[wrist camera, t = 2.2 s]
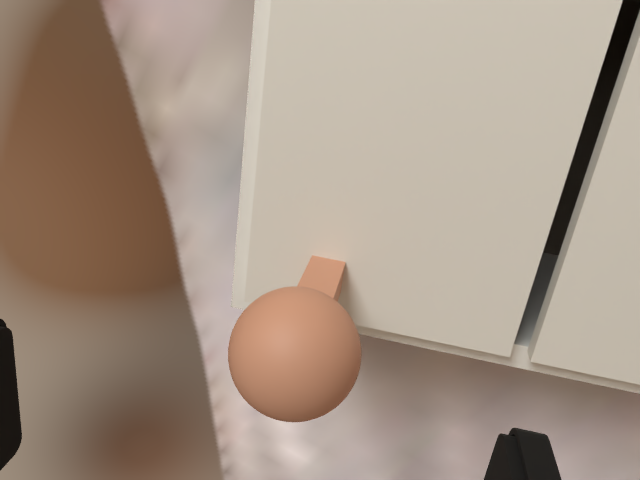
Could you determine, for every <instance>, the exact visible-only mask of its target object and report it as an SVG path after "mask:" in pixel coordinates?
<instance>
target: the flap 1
mask: <svg viewBox="0 0 640 480" xmlns="http://www.w3.org/2000/svg"><path fill="white" fill-rule="evenodd" d="M622 1H623V0H271V7H270V18H269V29H268V40H267V51H266V63H265V74H264V85H263V96H262V108H261V119H260V130H259V141H258V153H257V164H256V175H255V186H254V198H253V209H252V220H251V231H250V243H249V254H248V265H247V276H246V287H245V299H244V302H249V303H251V304H250V305H249V306H248V307H247V308H246V309H245V310H244V311H243V313H242V314H241V316H240V317H239V318H238V320H237V322H236V324H235V326H234V328H233V331H232V334H231V337H230V341H229V348H228V362H229V368H230V372H231V376H232V379H233V381H234V384H235V386H236V387H237V389H238V391H239V393H240V394H241V395H242V397H243V398H244V399H245V400H246V401H247V402H248V403H249V404H250V405H251V406H252V407H253V408H254V409H256V410H257V411H259V412H260V413H262V414H264V415H266V416H268V417H270V418H273V419H276V420H280V421H286V422H303V421H308V420H312V419H315V418H318V417H321V416H323V415H325V414H327V413H328V412H330V411H331V410H333V409H334V408H336V407H337V406H338V405H339V404H340V403H341V402H342V401H343V400H344V399H345V398H346V397H347V395H348V394H349V392H350V391H351V389H352V388H353V386H354V384H355V382H356V379H357V376H358V373H359V370H360V364H361V343H360V338H359V334H358V331H357V328H356V326H355V325H358V326H363V327H368V328H372V329H377V330H382V331H387V332H391V333H396V334H401V335H406V336H410V337H415V338H420V339H425V340H429V341H434V342H439V343H444V344H448V345H453V346H458V347H463V348H467V349H472V350H477V351H482V352H486V353H491V354H496V355H501V356H505V357H510V354H511V351H512V348H513V345H514V342H515V339H516V335H517V332H518V329H519V326H520V323H521V320H522V316H523V313H524V310H525V307H526V304H527V301H528V298H529V294H530V291H531V288H532V285H533V282H534V279H535V276H536V272H537V269H538V266H539V263H540V260H541V257H542V253H543V250H544V247H545V244H546V241H547V238H548V235H549V231H550V228H551V225H552V222H553V219H554V216H555V212H556V209H557V206H558V203H559V200H560V197H561V194H562V190H563V187H564V184H565V181H566V178H567V175H568V171H569V168H570V165H571V162H572V159H573V156H574V153H575V149H576V146H577V143H578V140H579V137H580V134H581V131H582V127H583V124H584V121H585V118H586V115H587V112H588V108H589V105H590V102H591V99H592V96H593V93H594V90H595V86H596V83H597V80H598V77H599V74H600V71H601V67H602V64H603V61H604V58H605V55H606V52H607V49H608V45H609V42H610V39H611V36H612V33H613V30H614V26H615V23H616V20H617V17H618V14H619V11H620V8H621V4H622Z"/></svg>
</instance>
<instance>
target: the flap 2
mask: <svg viewBox="0 0 640 480" xmlns="http://www.w3.org/2000/svg"><path fill="white" fill-rule="evenodd" d="M527 351H528V355H529V359H530V362H534V363H539V364H543V365H548V366H553V367H558V368H562V369H567V370H572V371H577V372H581V373H586V374H591V375H596V376H600V377H605V378H610V379H615V380H619V381H624V382H629V383H634V384H638V385H640V10H639V14H638V17H637V20H636V23H635V26H634V29H633V32H632V35H631V38H630V41H629V44H628V47H627V50H626V53H625V56H624V59H623V62H622V65H621V68H620V71H619V74H618V77H617V80H616V83H615V86H614V89H613V92H612V95H611V98H610V101H609V104H608V107H607V110H606V113H605V116H604V119H603V123H602V126H601V129H600V132H599V135H598V138H597V141H596V144H595V147H594V150H593V153H592V156H591V159H590V162H589V165H588V168H587V171H586V174H585V177H584V180H583V183H582V186H581V189H580V192H579V195H578V198H577V201H576V204H575V207H574V210H573V213H572V216H571V219H570V222H569V225H568V228H567V232H566V235H565V238H564V241H563V244H562V247H561V250H560V253H559V256H558V259H557V262H556V265H555V268H554V271H553V274H552V277H551V280H550V283H549V286H548V289H547V292H546V295H545V298H544V301H543V304H542V307H541V310H540V313H539V316H538V319H537V322H536V325H535V328H534V331H533V334H532V337H531V341H530V344H529V347H528V350H527Z"/></svg>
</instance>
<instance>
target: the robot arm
mask: <svg viewBox="0 0 640 480" xmlns="http://www.w3.org/2000/svg"><path fill="white" fill-rule="evenodd" d="M21 439H22V433H21V422H20V411H19V401H18V390H17V378H16V367H15V357H14V346H13V336H12V332H11V330H10V329H9V328H7V327H6V324H5V322H4V321H3V320H2V319H0V470H1V469H2V468H3V467H4V466H5V465H6V464H7V463H8V462H9V460H10V459H11V458H12V457H13V456H14V455H15V453H16V452H17V450H18V448H19V446H20V443H21ZM484 480H561V477H560V474H559V470H558V467H557V464H556V461H555V457H554V454H553V451H552V447H551V444H550V441H549V439H548V436H547V435H545V434H541V433H537V432H532V431H527V430H523V429H518V428H512V429H511V431H510V433H509V435H506V434H499V436H498V438H497V441H496V444H495V447H494V450H493V453H492V456H491V459H490V462H489V465H488V468H487V471H486V475H485V478H484Z"/></svg>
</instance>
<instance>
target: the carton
mask: <svg viewBox="0 0 640 480" xmlns="http://www.w3.org/2000/svg"><path fill="white" fill-rule="evenodd" d="M270 7H271V0H255V7H254V20H253V33H252V46H251V58H250V71H249V84H248V96H247V109H246V122H245V135H244V147H243V160H242V173H241V185H240V198H239V211H238V224H237V236H236V249H235V262H234V275H233V287H232V300H231V307H233V308H238V309H243V310H245V309H246V308H247V307H248V306H249V305H250V304H251V303H249V302H244V299H245V287H246V276H247V265H248V254H249V243H250V231H251V220H252V209H253V198H254V186H255V175H256V164H257V153H258V141H259V130H260V119H261V108H262V96H263V85H264V74H265V63H266V51H267V40H268V29H269V18H270ZM639 10H640V0H623V1H622V4H621V8H620V11H619V14H618V17H617V20H616V23H615V26H614V30H613V33H612V36H611V39H610V42H609V45H608V49H607V52H606V55H605V58H604V61H603V64H602V67H601V71H600V74H599V77H598V80H597V83H596V86H595V90H594V93H593V96H592V99H591V102H590V105H589V108H588V112H587V115H586V118H585V121H584V124H583V127H582V131H581V134H580V137H579V140H578V143H577V146H576V149H575V153H574V156H573V159H572V162H571V165H570V168H569V171H568V175H567V178H566V181H565V184H564V187H563V190H562V194H561V197H560V200H559V203H558V206H557V209H556V212H555V216H554V219H553V222H552V225H551V228H550V231H549V235H548V238H547V241H546V244H545V247H544V250H543V253H542V257H541V260H540V263H539V266H538V269H537V272H536V276H535V279H534V282H533V285H532V288H531V291H530V294H529V298H528V301H527V304H526V307H525V310H524V313H523V316H522V320H521V323H520V326H519V329H518V332H517V335H516V339H515V342H514V345H513V348H512V351H511V354H510V357H505V356H501V355H496V354H491V353H486V352H482V351H477V350H472V349H467V348H463V347H458V346H453V345H448V344H444V343H439V342H434V341H429V340H425V339H420V338H415V337H410V336H406V335H401V334H396V333H391V332H387V331H382V330H377V329H372V328H368V327H363V326H358V325H355V326H356V328H357V331H358V334H360V335H365V336H370V337H375V338H379V339H384V340H389V341H393V342H398V343H403V344H408V345H412V346H417V347H422V348H426V349H431V350H436V351H440V352H445V353H450V354H455V355H459V356H464V357H469V358H473V359H478V360H483V361H488V362H492V363H497V364H502V365H506V366H511V367H516V368H521V369H525V370H530V371H535V372H539V373H544V374H549V375H554V376H558V377H563V378H568V379H572V380H577V381H582V382H587V383H591V384H596V385H601V386H605V387H610V388H615V389H619V390H624V391H629V392H634V393H638V394H640V385H638V384H634V383H629V382H624V381H619V380H615V379H610V378H605V377H600V376H596V375H591V374H586V373H581V372H577V371H572V370H567V369H562V368H558V367H553V366H548V365H543V364H539V363H534V362H530V359H529V355H528V351H527V350H528V347H529V344H530V341H531V337H532V334H533V331H534V328H535V325H536V322H537V319H538V316H539V313H540V310H541V307H542V304H543V301H544V298H545V295H546V292H547V289H548V286H549V283H550V280H551V277H552V274H553V271H554V268H555V265H556V262H557V259H558V256H559V253H560V250H561V247H562V244H563V241H564V238H565V235H566V232H567V228H568V225H569V222H570V219H571V216H572V213H573V210H574V207H575V204H576V201H577V198H578V195H579V192H580V189H581V186H582V183H583V180H584V177H585V174H586V171H587V168H588V165H589V162H590V159H591V156H592V153H593V150H594V147H595V144H596V141H597V138H598V135H599V132H600V129H601V126H602V123H603V119H604V116H605V113H606V110H607V107H608V104H609V101H610V98H611V95H612V92H613V89H614V86H615V83H616V80H617V77H618V74H619V71H620V68H621V65H622V62H623V59H624V56H625V53H626V50H627V47H628V44H629V41H630V38H631V35H632V32H633V29H634V26H635V23H636V20H637V17H638V14H639Z"/></svg>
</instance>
